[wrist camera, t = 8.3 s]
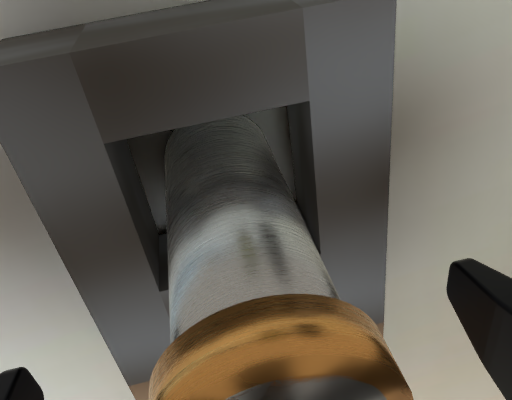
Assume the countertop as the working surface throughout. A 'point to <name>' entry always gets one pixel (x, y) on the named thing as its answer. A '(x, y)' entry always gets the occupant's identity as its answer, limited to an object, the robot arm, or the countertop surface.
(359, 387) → the lock pin
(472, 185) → the countertop surface
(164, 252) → the pin dock plate
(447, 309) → the countertop surface
